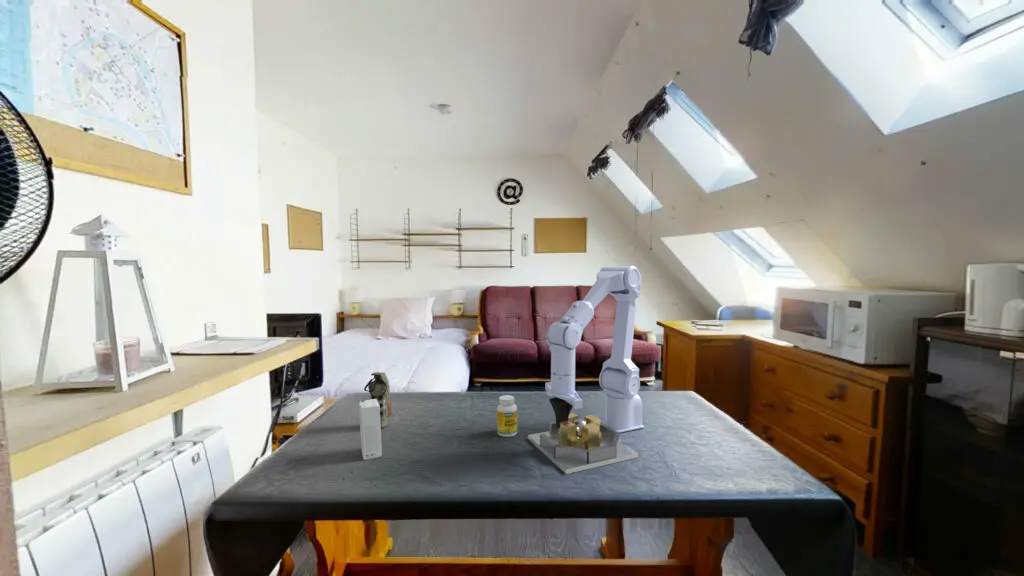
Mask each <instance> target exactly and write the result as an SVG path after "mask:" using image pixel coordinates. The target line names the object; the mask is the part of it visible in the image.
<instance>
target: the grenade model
mask: <svg viewBox="0 0 1024 576" xmlns="http://www.w3.org/2000/svg"><path fill="white" fill-rule="evenodd" d="M370 376H373V377H372V378H371V379H370V380H369V381H368V382H367V384H366V385H365V386H364V388H363V390H364V391H365V392H368V393H369V394H370V400H371V399H376V400H377V402H378V404H379V406H380V424H381V428H382V429H384V428H386V427H387V426H388V425H389V419H388V417H390V416H391V415H393V414H392V413H393V412H392V402H391V392H390V391H391V390H390V382H389V379H388V377H387V375H386V373H385V372H382V371H381V372H380V371H376V372H373V373H371V375H370ZM386 410H387V411H386ZM386 412H387V413H386ZM385 426H386V427H385ZM383 427H384V428H383Z"/></svg>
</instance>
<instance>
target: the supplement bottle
mask: <svg viewBox="0 0 1024 576" xmlns="http://www.w3.org/2000/svg"><path fill="white" fill-rule="evenodd" d="M498 402H499V404H498V406H497V407H496V420H497V421H496V428H497V429H496V430H497V431H496V432H497V435H498V436H500V437H503V438H504V437H505V438H507V437H509V438H510V437H514V436H516V435H517V433H518V406H517V405H516V404H515V397H514V396H513V395H508V394H507V395H500V396H499V401H498Z"/></svg>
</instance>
